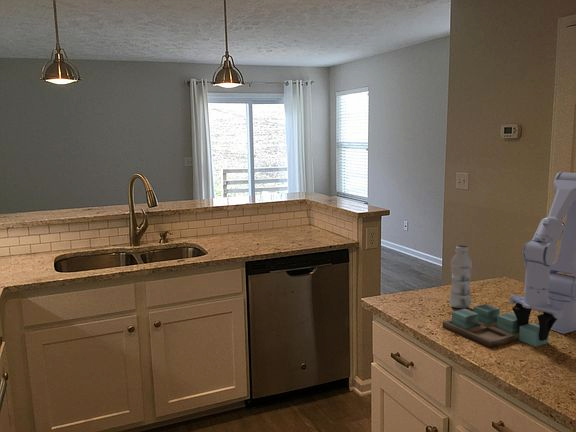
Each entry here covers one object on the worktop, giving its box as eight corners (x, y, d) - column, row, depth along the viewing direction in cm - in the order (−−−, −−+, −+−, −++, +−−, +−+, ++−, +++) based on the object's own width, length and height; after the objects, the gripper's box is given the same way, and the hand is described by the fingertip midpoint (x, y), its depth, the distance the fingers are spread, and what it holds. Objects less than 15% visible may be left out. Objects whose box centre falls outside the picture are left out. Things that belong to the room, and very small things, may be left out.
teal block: (531, 336, 141) (532, 322, 140) (547, 343, 136) (548, 329, 136) (518, 340, 138) (519, 326, 138) (535, 347, 134) (536, 332, 133)
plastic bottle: (472, 311, 160) (475, 249, 157) (449, 310, 162) (452, 248, 158) (469, 304, 167) (472, 244, 163) (447, 303, 168) (450, 243, 165)
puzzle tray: (484, 316, 156) (485, 301, 155) (533, 335, 141) (535, 318, 140) (442, 326, 148) (443, 310, 148) (489, 348, 133) (490, 330, 133)
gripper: (503, 281, 139) (500, 329, 142) (551, 296, 127) (547, 348, 129) (520, 278, 143) (517, 325, 145) (570, 292, 130) (566, 343, 132)
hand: (533, 336), depth 137 cm, fingers open, 5 cm apart
